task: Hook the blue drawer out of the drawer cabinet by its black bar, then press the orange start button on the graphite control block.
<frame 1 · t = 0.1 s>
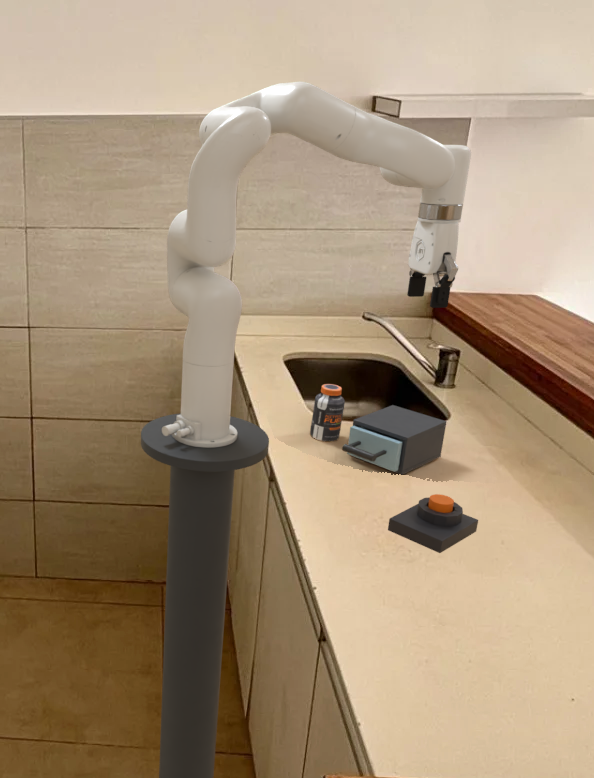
hand: (426, 301, 151), 29 cm above the table, tool pointing down, fingers open, 9 cm apart
blue drawer: (383, 444, 148), point 4 cm above the table, slide at 0.5 cm
start button: (440, 504, 124), point 4 cm above the table, slide at 0.1 cm
drawer cabinet: (394, 455, 152), on the table
pill bottle: (324, 437, 162), on the table
control block: (431, 531, 125), on the table
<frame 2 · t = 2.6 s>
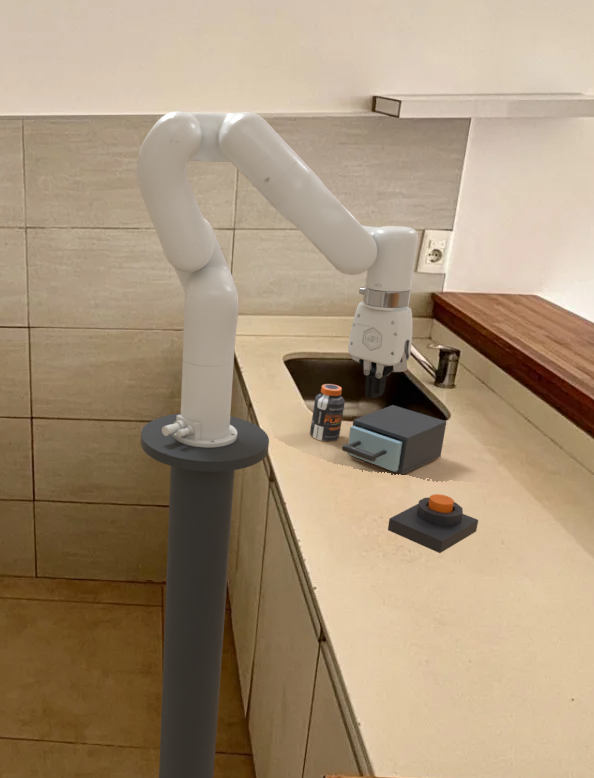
hand: (373, 395, 141), 15 cm above the table, tool pointing down, fingers closed
nothing on the table moved.
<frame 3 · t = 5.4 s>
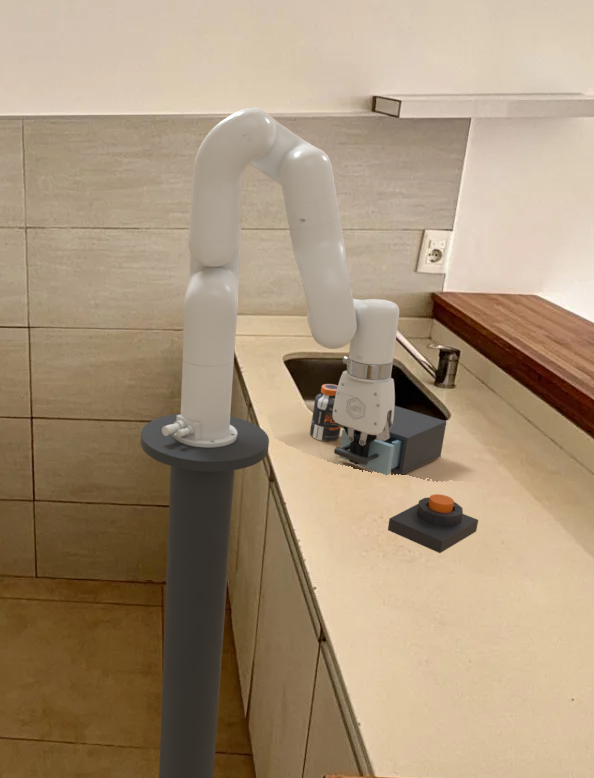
hand: (357, 461, 144), 2 cm above the table, tool pointing down, fingers closed
blue drawer: (375, 447, 147), point 4 cm above the table, slide at 3.0 cm, touching gripper
everything else where it was.
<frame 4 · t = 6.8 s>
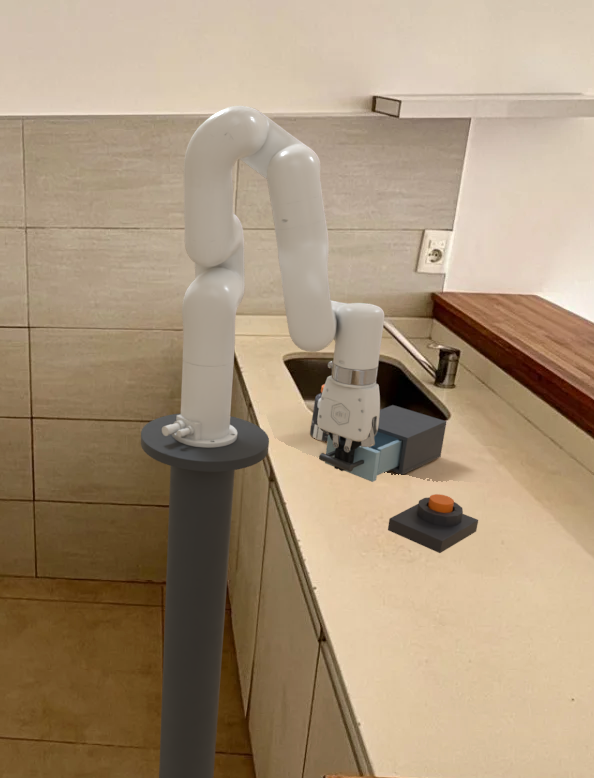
hand: (342, 467, 142), 2 cm above the table, tool pointing down, fingers closed
blue drawer: (361, 453, 144), point 4 cm above the table, slide at 7.5 cm, touching gripper
everything else where it was.
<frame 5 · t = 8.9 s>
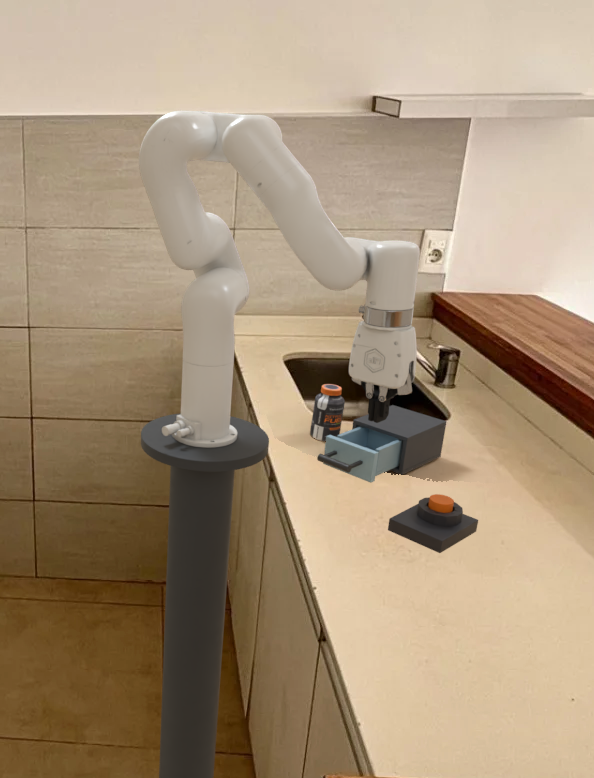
hand: (377, 419, 133), 14 cm above the table, tool pointing down, fingers closed
blue drawer: (360, 453, 144), point 4 cm above the table, slide at 8.1 cm
everything else where it was.
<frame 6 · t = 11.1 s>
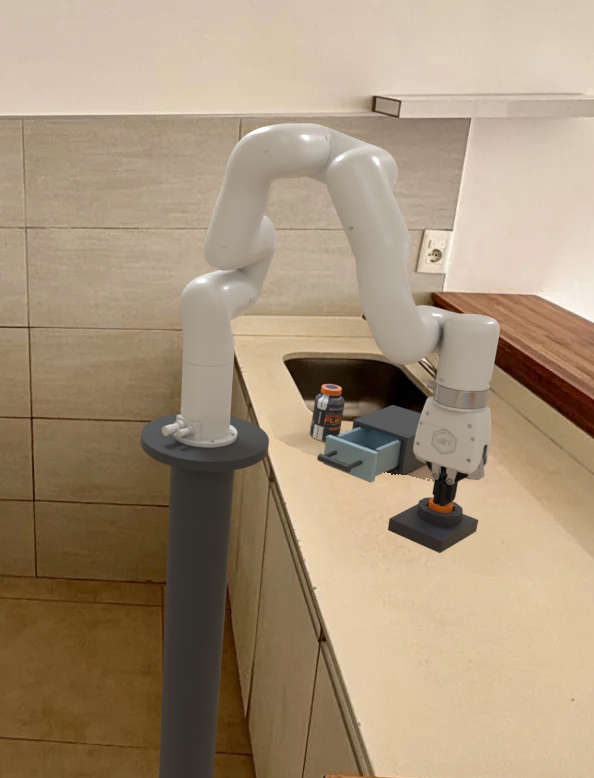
hand: (442, 502, 124), 5 cm above the table, tool pointing down, fingers closed
start button: (440, 506, 124), point 4 cm above the table, slide at -0.4 cm, touching gripper
everything else where it was.
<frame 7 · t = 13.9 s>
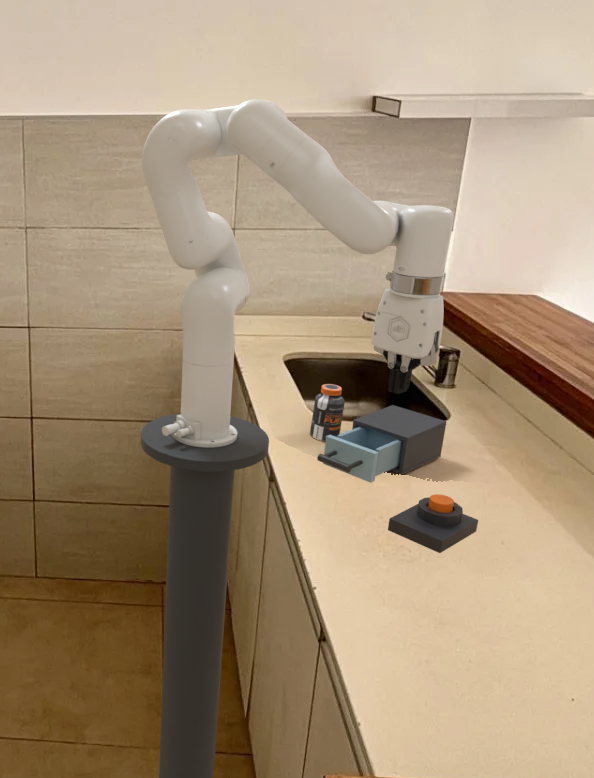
hand: (397, 391, 130), 20 cm above the table, tool pointing down, fingers closed
start button: (440, 504, 124), point 4 cm above the table, slide at 0.1 cm
everything else where it was.
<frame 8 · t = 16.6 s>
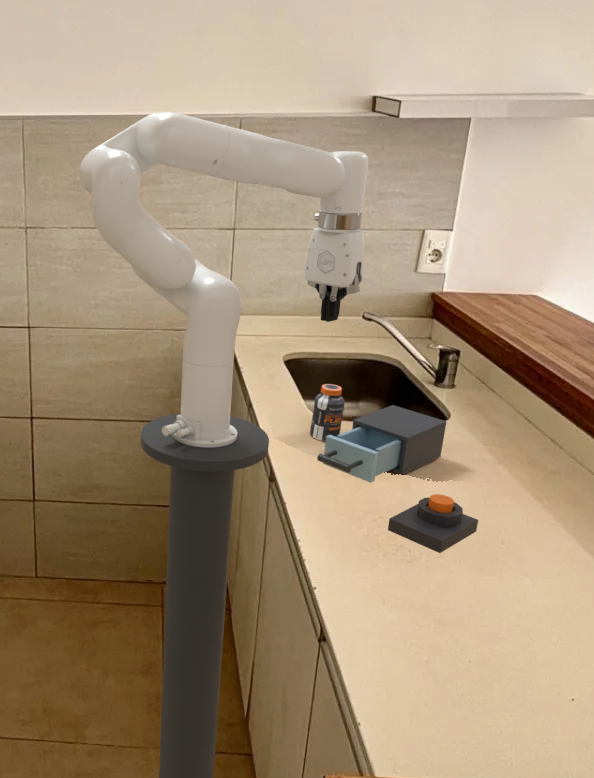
hand: (329, 319, 146), 27 cm above the table, tool pointing down, fingers closed
nothing on the table moved.
at the end: blue drawer slide at 8.1 cm; start button pushed in 1.1 cm at the most during the clip, back to where it started at the end; start button slide at 0.1 cm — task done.
